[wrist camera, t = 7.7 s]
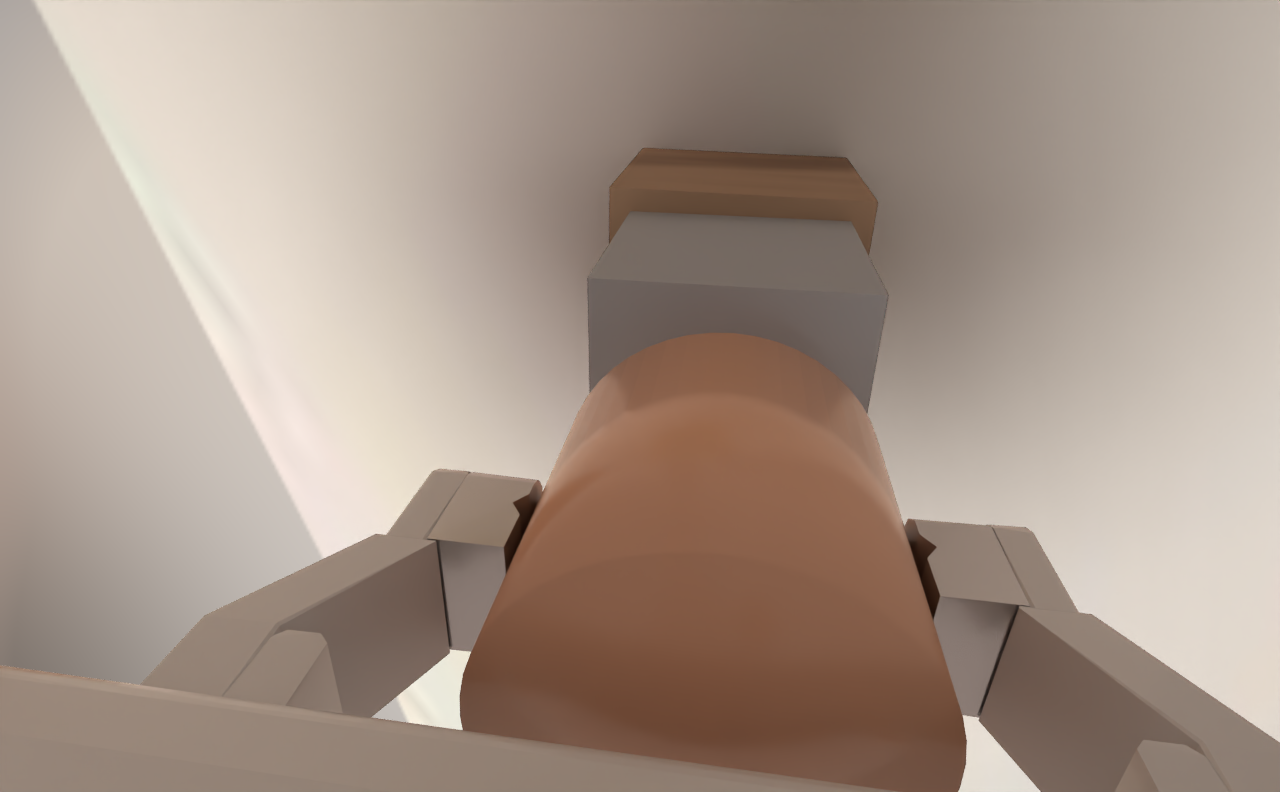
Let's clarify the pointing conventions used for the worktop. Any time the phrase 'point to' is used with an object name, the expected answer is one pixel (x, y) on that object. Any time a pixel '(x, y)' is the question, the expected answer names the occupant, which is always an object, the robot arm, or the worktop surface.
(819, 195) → the walnut block
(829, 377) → the peach brown rounded dome
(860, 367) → the grey block
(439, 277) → the worktop surface
